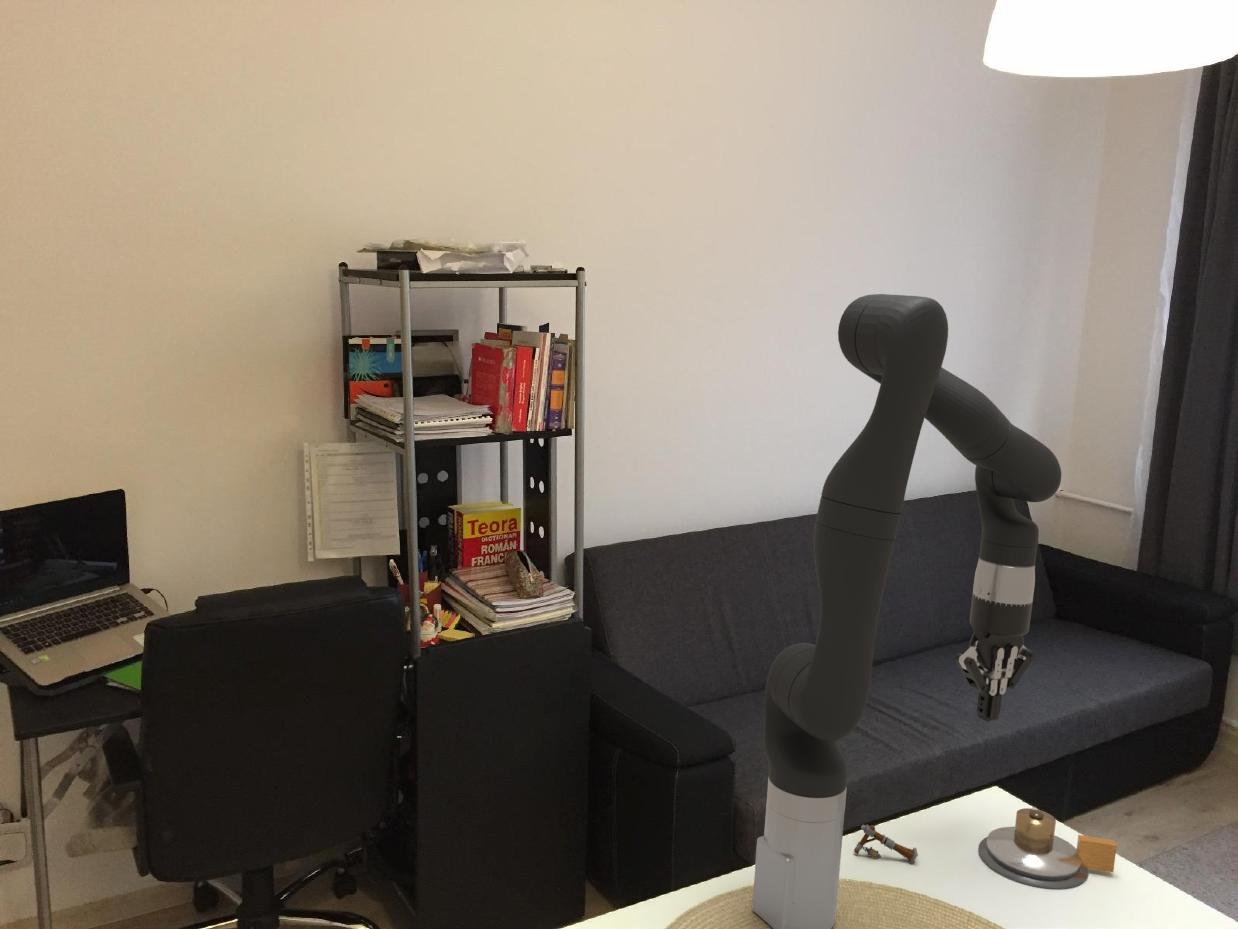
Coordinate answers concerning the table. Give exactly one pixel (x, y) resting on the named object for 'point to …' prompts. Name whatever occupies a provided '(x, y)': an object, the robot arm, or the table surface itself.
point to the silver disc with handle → (1051, 855)
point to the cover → (1034, 830)
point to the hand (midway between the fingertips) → (987, 719)
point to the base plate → (1027, 880)
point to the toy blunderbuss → (887, 842)
